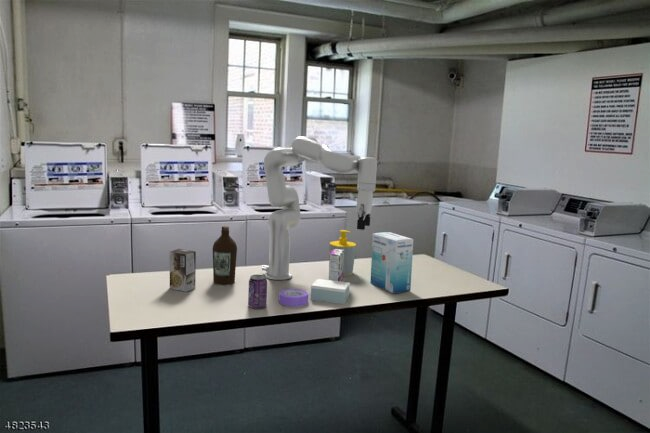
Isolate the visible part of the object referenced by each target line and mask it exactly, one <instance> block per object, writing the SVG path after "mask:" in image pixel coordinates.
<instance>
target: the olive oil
mask: <svg viewBox="0 0 650 433" xmlns="http://www.w3.org/2000/svg"><path fill="white" fill-rule="evenodd" d="M220 231H221V234H220V236H219V237H218V238H217V239H216V240H215V241H214V242H213V245H212V263H213V264H212V269H213V270H212V272H213V274H212V276H213V277H212V278H213V279H212V280H213V283H214V284H216V285H219V286H227V285H232V284H234V283H235V282H236V268H237V255H238V245H237V243H236V241H235V240H234V239H233V237H231V236H230V226H226V225H224V226H221V230H220Z"/></svg>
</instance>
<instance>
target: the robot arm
mask: <svg viewBox="0 0 650 433" xmlns="http://www.w3.org/2000/svg"><path fill="white" fill-rule="evenodd" d="M306 160H310V161H312V162H314V163H315V162H316V163H317V164H320V165H321V166H322V167H325V168H326V169H328V170H331V171H333V172H336V173H338V174H344V175H347V174H357V185H356V190H357V192H358V193H357V196H356V205H355V206H356V207H355V214H356V215H357V222H356V229H357V230H360V231H364V230H365V229H366V226H367V227H369V226H370V225H371V213H372V209H373V193H374V192H375V191H376V183H377V168H378V160H377V158H375V157H374V156H373V157H370V156H359V155H355V154H354V155H353V154H352V155H351V154H350V155H344V154H340V153H338V152H335V151H333V150H330V146H328V144H326V143H322V142H319V141H318V139H316V138H315V137H314V136H313V137H312V136H297V137H295V138H294V139H293V140H292V142H291V147H277V148H276V147H275V148H273V149H271V150H269V151H267V153H266V155H265V156H264V160H263V171H264V175H265V180H266V181H265V182H266V189H267V190H266V191H267V197H268V202H269V205H271V206H272V207H273V208H282V209H279V210H275V211H273V212H271V213H270V214H269V216H268V220H267V224H268V225H267V226H268V230H269V247H268V248H269V251H268V252H269V254H268V265H265V264H262V266H261V270H262V271H266V272H265V273H264V276H266V279H269V280H271V281H273V280H274V281H288V280H289V279H292V277H293V275H292V273H291V272H290V252H291V237H290V233H289V230H290V229H294V228H296V227H298V226H299V225H300V223H301V220H302V219H301V218H302V217H301V214H302V213H301V206H300V199H299V195H298V194H299V193H298V192H297V190H296V189H295V187H293V186H292V185H286V178H285V174H284V172H283V170H282V169H281V168H282V167H283V168H284V167H295V166H297V165H298V166H299V165H300V164H302V163H303V162H305V161H306Z"/></svg>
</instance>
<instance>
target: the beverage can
mask: <svg viewBox="0 0 650 433" xmlns="http://www.w3.org/2000/svg"><path fill="white" fill-rule="evenodd" d="M267 279H268V278H266V276H265V274H253V275H250V277H249V280H248V300H247V305H248V306H249V307H250V308H252V309H255V310H256V309H263V308H264V307H266V306H267V301H268V300H267V299H268V280H267Z"/></svg>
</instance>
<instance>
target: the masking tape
mask: <svg viewBox="0 0 650 433" xmlns="http://www.w3.org/2000/svg"><path fill="white" fill-rule="evenodd" d="M308 301H309V293H308V292H307V291H306V290H305V289H304V290H303V289H300V288H299V289H298V288H285V289H283V290H280V291H279V292H278V302H279V304H281V305H283V306H287V307H301V306H302V307H303V306H305V305H307V304H308Z"/></svg>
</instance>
